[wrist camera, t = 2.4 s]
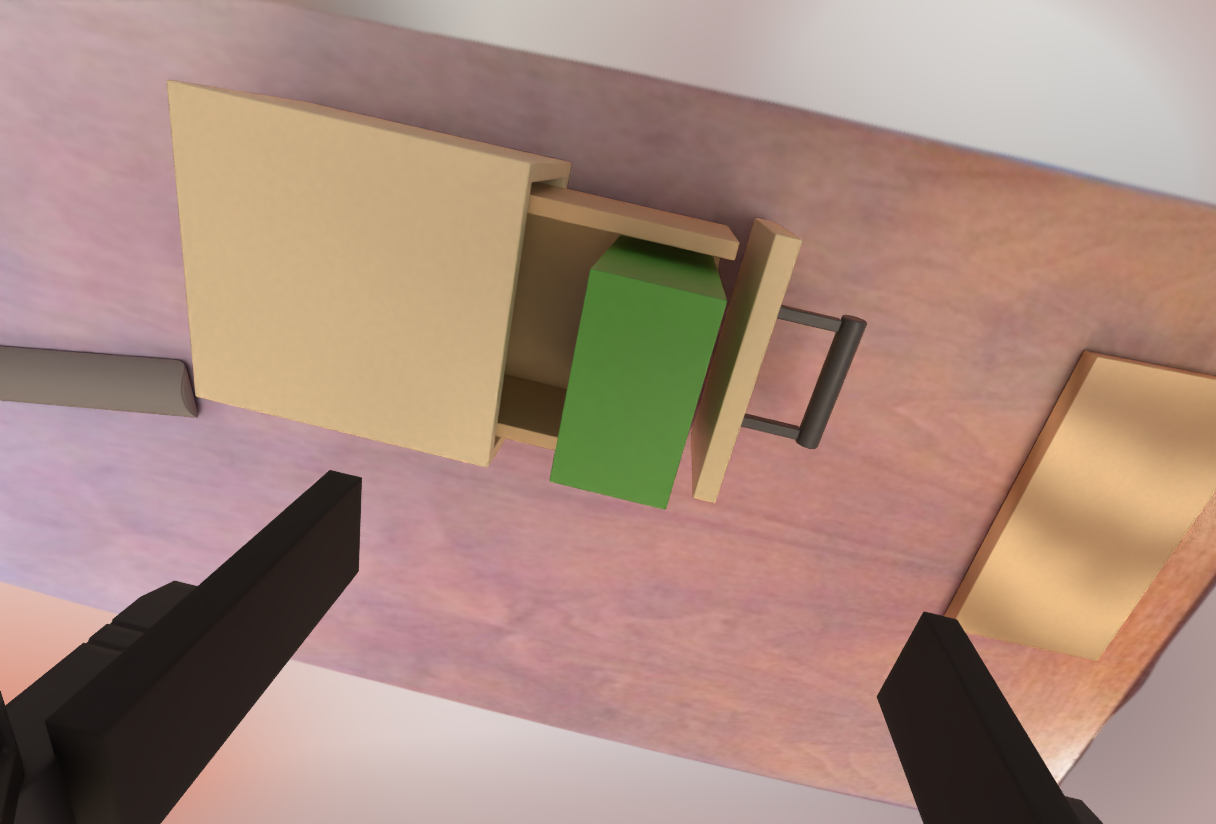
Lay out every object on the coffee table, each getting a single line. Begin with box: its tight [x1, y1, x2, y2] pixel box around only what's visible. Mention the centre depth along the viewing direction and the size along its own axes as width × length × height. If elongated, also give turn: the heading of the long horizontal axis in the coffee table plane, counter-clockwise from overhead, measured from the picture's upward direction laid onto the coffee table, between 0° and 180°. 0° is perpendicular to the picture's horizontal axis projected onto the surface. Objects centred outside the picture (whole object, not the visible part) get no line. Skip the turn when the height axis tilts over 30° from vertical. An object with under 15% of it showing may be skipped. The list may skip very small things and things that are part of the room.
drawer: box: [496, 182, 867, 503], centre depth 31 cm, size 19×13×8 cm
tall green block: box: [550, 235, 727, 510], centre depth 28 cm, size 5×9×12 cm, turn 168°
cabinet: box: [167, 80, 571, 467], centre depth 31 cm, size 16×15×10 cm
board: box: [944, 351, 1216, 661], centre depth 37 cm, size 20×10×1 cm, turn 170°
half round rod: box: [0, 346, 198, 418], centre depth 41 cm, size 4×20×2 cm, turn 88°
